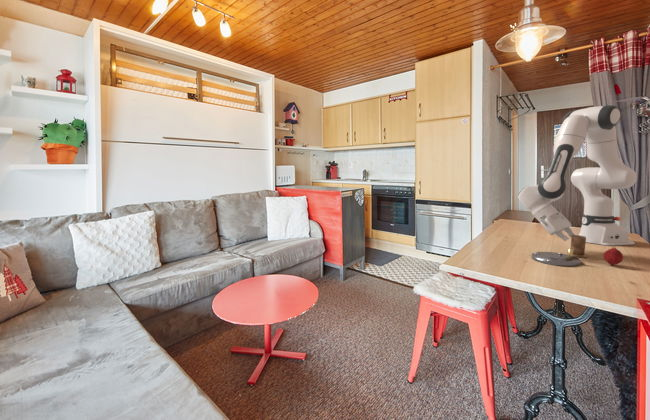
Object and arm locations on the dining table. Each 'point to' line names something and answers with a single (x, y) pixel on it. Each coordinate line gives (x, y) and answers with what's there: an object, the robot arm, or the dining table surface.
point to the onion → (613, 256)
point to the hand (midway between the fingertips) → (570, 238)
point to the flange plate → (556, 258)
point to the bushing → (578, 246)
